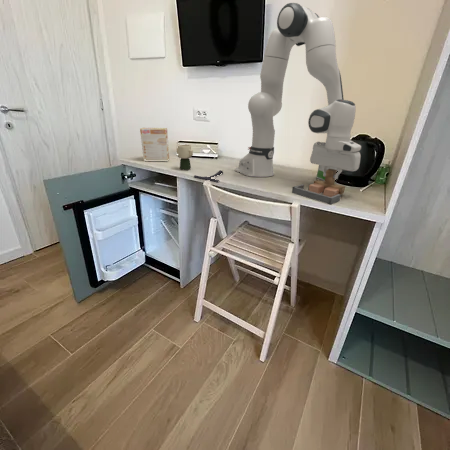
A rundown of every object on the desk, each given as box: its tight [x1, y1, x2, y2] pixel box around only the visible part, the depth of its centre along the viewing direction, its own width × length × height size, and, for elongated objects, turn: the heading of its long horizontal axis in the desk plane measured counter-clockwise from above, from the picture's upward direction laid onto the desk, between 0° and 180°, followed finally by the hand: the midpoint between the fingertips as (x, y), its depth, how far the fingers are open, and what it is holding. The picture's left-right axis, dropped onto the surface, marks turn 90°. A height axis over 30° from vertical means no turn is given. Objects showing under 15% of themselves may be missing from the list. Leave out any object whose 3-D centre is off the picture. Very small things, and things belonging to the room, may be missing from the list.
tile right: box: [322, 187, 339, 197], centre depth 109 cm, size 4×4×3 cm
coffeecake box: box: [139, 127, 170, 160], centre depth 160 cm, size 15×7×20 cm, turn 91°
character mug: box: [176, 144, 194, 170], centre depth 143 cm, size 11×7×13 cm, turn 59°
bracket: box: [193, 170, 224, 183], centre depth 132 cm, size 14×15×3 cm
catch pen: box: [291, 183, 342, 205], centre depth 107 cm, size 18×7×2 cm, turn 41°
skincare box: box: [316, 165, 337, 181], centre depth 129 cm, size 8×7×16 cm
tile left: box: [308, 183, 324, 194], centre depth 113 cm, size 4×4×3 cm
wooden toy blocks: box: [312, 169, 346, 196], centre depth 112 cm, size 13×3×9 cm, turn 41°
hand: (330, 177), depth 111 cm, fingers closed on wooden toy blocks, 3 cm apart
